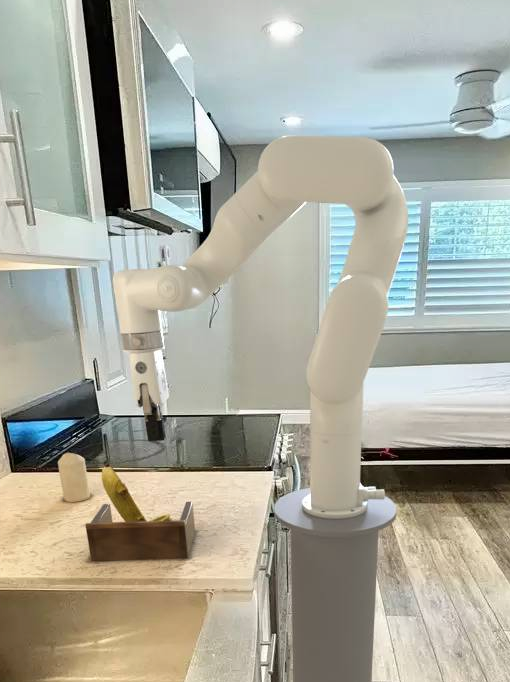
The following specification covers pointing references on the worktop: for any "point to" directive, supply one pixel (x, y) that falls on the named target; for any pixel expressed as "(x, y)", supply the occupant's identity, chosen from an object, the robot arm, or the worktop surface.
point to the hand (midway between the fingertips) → (156, 439)
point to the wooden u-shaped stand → (140, 537)
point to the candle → (73, 477)
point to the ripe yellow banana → (123, 497)
